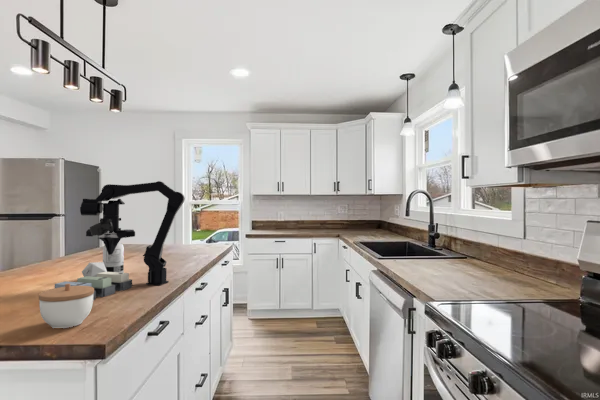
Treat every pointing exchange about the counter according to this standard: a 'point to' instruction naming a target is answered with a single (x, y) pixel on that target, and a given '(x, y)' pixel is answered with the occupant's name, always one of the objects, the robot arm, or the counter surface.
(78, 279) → the sage key
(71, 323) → the lidded bowl
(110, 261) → the supplement can
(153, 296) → the counter surface
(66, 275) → the counter surface
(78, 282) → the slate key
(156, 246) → the robot arm
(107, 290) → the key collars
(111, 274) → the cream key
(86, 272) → the grey angular block
